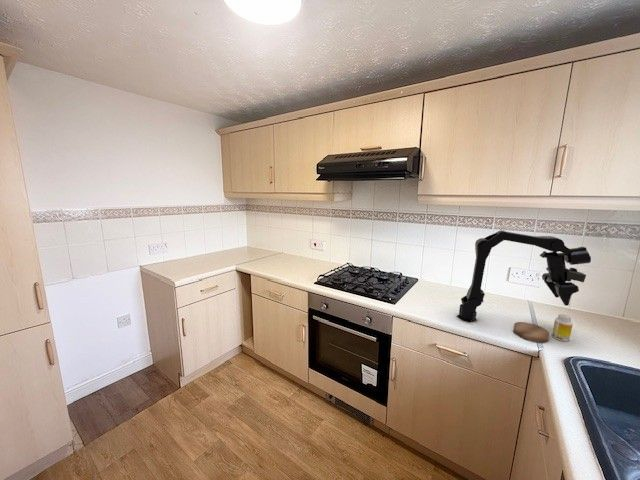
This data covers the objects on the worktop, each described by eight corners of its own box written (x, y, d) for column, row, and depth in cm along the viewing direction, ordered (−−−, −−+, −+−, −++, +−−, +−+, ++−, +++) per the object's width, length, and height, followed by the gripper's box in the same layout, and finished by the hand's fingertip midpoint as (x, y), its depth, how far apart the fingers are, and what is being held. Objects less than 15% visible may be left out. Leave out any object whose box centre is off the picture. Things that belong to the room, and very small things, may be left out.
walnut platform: (507, 331, 117) (508, 325, 116) (522, 325, 122) (523, 319, 122) (539, 345, 106) (540, 339, 106) (554, 338, 112) (555, 332, 111)
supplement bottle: (573, 341, 109) (577, 319, 108) (560, 342, 109) (565, 319, 107) (560, 334, 115) (564, 312, 113) (548, 334, 115) (552, 313, 113)
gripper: (593, 269, 99) (599, 308, 101) (570, 258, 116) (575, 292, 118) (556, 273, 104) (562, 310, 105) (539, 261, 121) (544, 294, 122)
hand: (561, 301), depth 112 cm, fingers open, 9 cm apart
